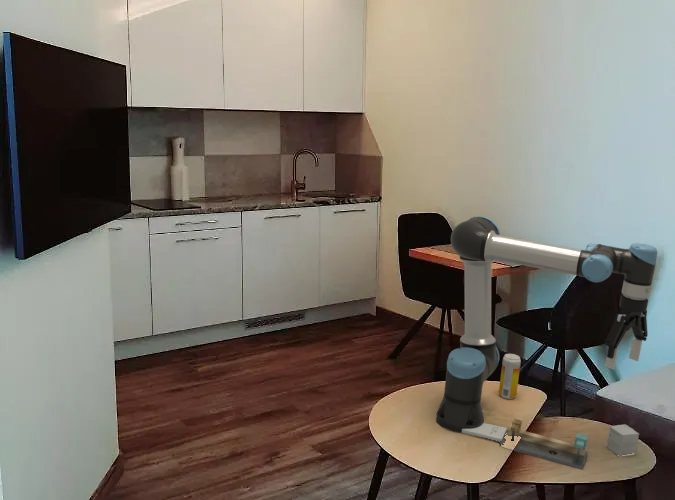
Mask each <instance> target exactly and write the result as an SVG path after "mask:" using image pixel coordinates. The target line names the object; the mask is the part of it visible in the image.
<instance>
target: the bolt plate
mask: <svg viewBox="0 0 675 500" xmlns="http://www.w3.org/2000/svg"><path fill="white" fill-rule="evenodd" d="M506 433H507V431H506ZM506 433H505V434H506ZM505 436H506V435H504V437H505ZM504 437H503V439H502V441H501V442H499V445H500V444H502V445H504V444H503V443H505V441H506V439H505V438H504ZM513 452H517V453H520V454H525V455H528V456H532V457H535V458H539V459H542V460H546V461H551V462H554V463H557V464H560V465H564V466H569V467H572V468H575V469H579V470H583V469H584V466H585V462H586V458H587V454H588V451H587V450H585V454H584V456H582V455H579V459H577V458H576V457H577V454H574V453H571V452H567V451H563V450H559V449H556V448H552V447H548V446H544V445H541V444H537V443H533V442H529V441H526V440H522V439H520V441H519V443H518V444H517V446H516V447H515V449H514V451H513Z"/></svg>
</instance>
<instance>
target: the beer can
mask: <svg viewBox="0 0 675 500" xmlns="http://www.w3.org/2000/svg"><path fill="white" fill-rule="evenodd" d="M521 362H522V360H521V357H520V356H519V355H517V354H515V353H505V354H504V356H503V358H502V362H501V363H502V366H501V371H500V372H501V373H500V380H499V386H498V387H499V388H498V394H499V396H500V397H501V398H503V399H505V400H513V398H514V399H515V398H516V397H517V392H518V386H519V378H520V377H519V376H520V370H521Z"/></svg>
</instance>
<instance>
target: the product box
mask: <svg viewBox="0 0 675 500" xmlns="http://www.w3.org/2000/svg"><path fill="white" fill-rule="evenodd" d="M608 431H609V432H608V436H607V441H606V442H607V443H606V448H607V449H608V450H609V451H611V452H612V451H613V452H614V453H613V454H615V455H616V454H617V455H619V456H622V455H627V454H632V453H635V454H636V453H637V446H638V441H639V436H640V433H639V432H637V431H636V430H634V428H632V427H630V426H629V425H627V424H625V423H624V424H617V425H610V426H609V430H608ZM617 455H616V456H617Z"/></svg>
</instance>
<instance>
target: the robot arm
mask: <svg viewBox="0 0 675 500" xmlns="http://www.w3.org/2000/svg"><path fill="white" fill-rule="evenodd" d="M450 245H451V247H452V249H453V251H454V252H455V253H456V254H457V255H458V256H459V260H460V261H461V262H462V263H463V264H464V334H462V336H461V337H460V339H459V343H460V344H459V345H460V346H459V347H458V348H455V349H453V350H451V352H450V353H449V354H448V358H447V361H446V373H445V385H444V390H443V391H444V393H443V398H442V400H441V402H440V404H439V406H438V408H437V410H436V415H435V420H436V421H435V422H437V424H438V425H439V426H440V427H442V428H444V429H445V430H448V431H451V432H455V433H460V434H463V433H462V429H473V428H477V427H480V426H481V425H482V424H483V423H485V416H484V413H483V408H482V404H481V403H482V392H483V387H484V386H483V385H484V382H485V381H487V379H488V378H489V377H490V376H491V375H492V374H493V373H494V372H495V371H496V369H497V367H498V365H499V361H500V351H499V350H498V348H497V346H496V345H497V343H496V342H497V340H496V337H494V335H492V264H493V263H494V262H495V261H499V262H505V263H508V264H515V265H520V266H525V267H530V268H535V269H541V270H546V271H551V272H557V273H562V274H567V275H572V276H576V277H577V276H579V277H581V278H582V277H583V278H585V279H586V280H587V281H589V282H592V283H601V282H603V281H605V280H607V279H608V278H610V276H611V275H612V273H613V274H614V273H615V274H620V275H624V278H623V283H622V286H621V287H622V288H621V295H620V299H619V304H618V305H619V308H620V309H622V312H621V314H620V313H616V314H615V316H614V320H613V323H612V325H611V327H610V330H609V332H608V334H607V337H606V338H605V341H604V343H603V344H604V346H607V354H606V358H605V364H604V367H605V368H608V369H610V370H615V368H616V363H617V359H618V353H619V345H620V343H621V341H622V340H623V338H624V336H625V335H626V333H627V331H630V329H632V333H633V336H634V337H632V341H631V346H630V349H629V350H630V351H629V356H628V359H631V360H632V361H633V360H634V361H636V362H639V359H640V355H641V351H642V344H643V341H644V342H646V341H647V339H648V338H647V337H648V335H649V334H648V322H647V321H648V320H647V316H648V315H647V313H648V310H647V309H648V304H649V300H648V298H650V294H651V293H652V289H651V287H652V284H653V278H654V274H655V270H656V269H655V268H656V264H657V259H658V249H657V248H656V246H653V245H650V244H646V243H645V244H644V243H639V242H636V243H632V244H630V246H629V247H628V248H621V247H616V246H611V245H605V244H601V243H592V242H590V243H588V244H587V245H586V246H585V249H579V248H574V247H568V246H564V245H557V244H552V243H546V242H540V241H535V240H530V239H529V240H528V239H522V238H517V237H511V236H506V235H501V233H500V228H499V226H498V224H497V223H496V222H495V220H493V219H491V218H490V217H487V216H472V217H471V218H469V219H467V220H465V221H462V222H460V223H458V224H457V225H456V226H455V227H454V229H453V230H452V232H451V235H450Z"/></svg>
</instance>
